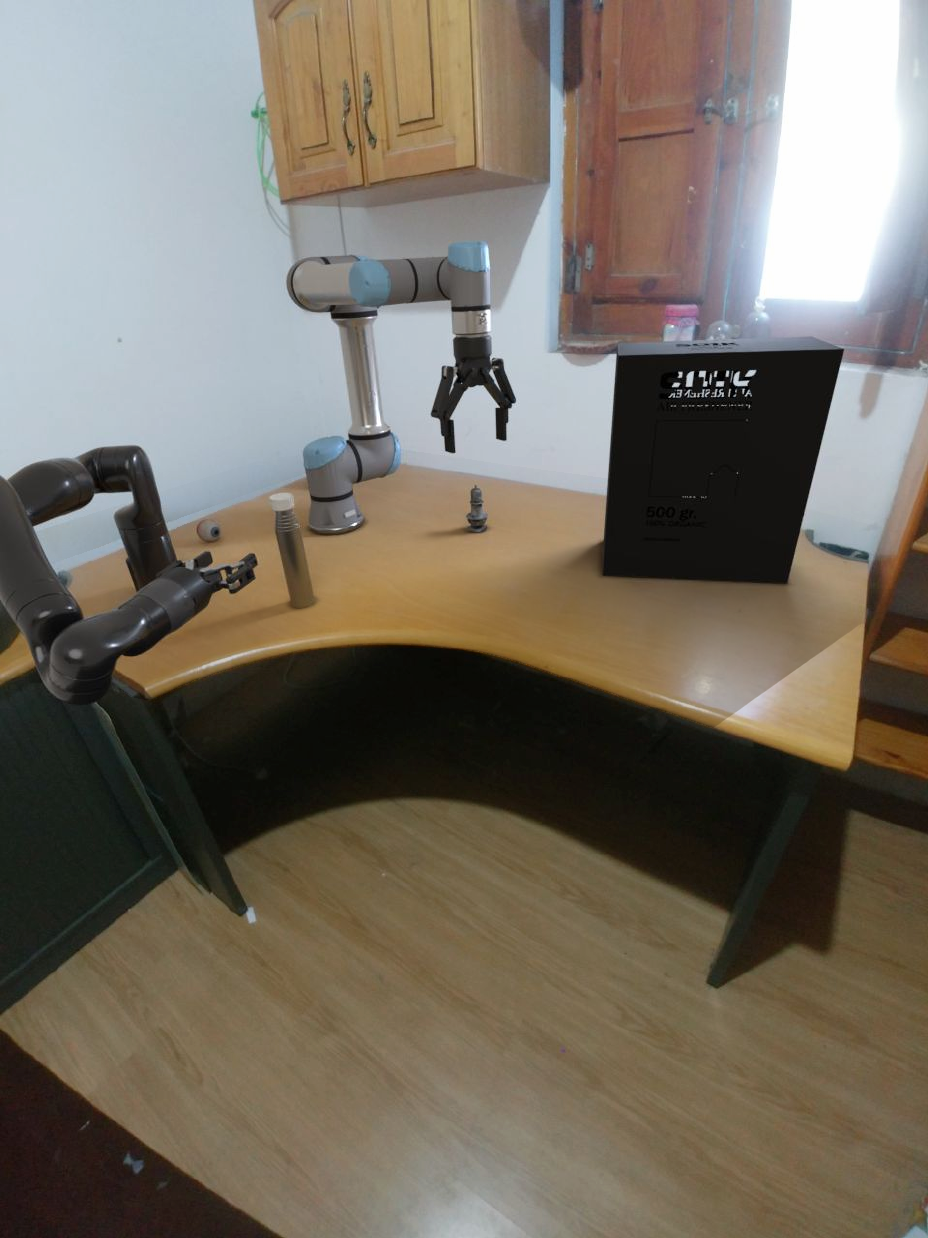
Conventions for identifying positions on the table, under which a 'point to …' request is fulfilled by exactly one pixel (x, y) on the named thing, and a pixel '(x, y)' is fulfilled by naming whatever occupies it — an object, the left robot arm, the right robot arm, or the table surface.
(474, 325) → the right robot arm
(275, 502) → the cap
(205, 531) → the eyeball
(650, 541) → the black rectangular box
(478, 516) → the grey upright piece
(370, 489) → the table surface
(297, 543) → the bottle
